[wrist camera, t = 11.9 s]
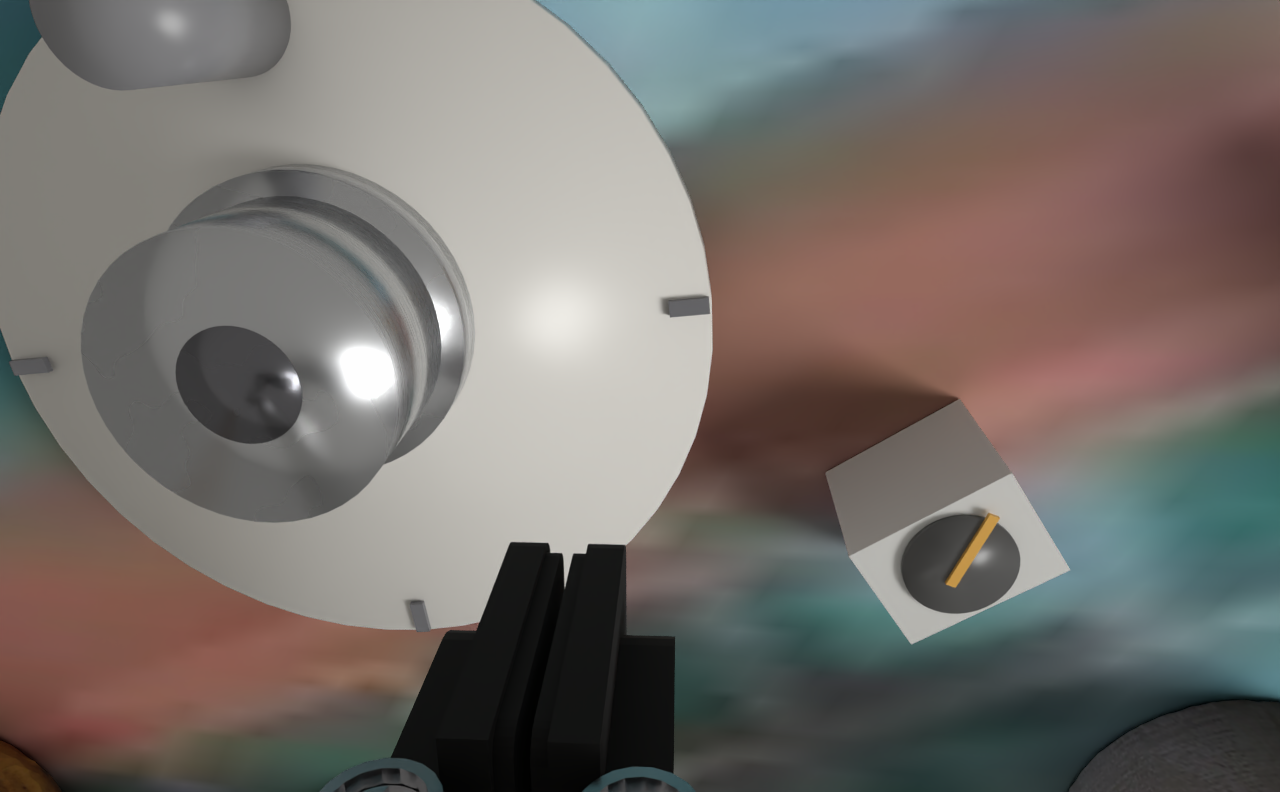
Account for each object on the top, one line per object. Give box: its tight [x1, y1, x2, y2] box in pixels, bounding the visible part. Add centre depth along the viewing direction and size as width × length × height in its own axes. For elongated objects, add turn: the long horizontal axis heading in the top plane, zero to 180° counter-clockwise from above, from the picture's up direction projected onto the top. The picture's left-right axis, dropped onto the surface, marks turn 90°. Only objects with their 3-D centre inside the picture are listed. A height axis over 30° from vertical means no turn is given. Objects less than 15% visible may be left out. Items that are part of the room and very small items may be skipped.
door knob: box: [81, 164, 475, 523], centre depth 18 cm, size 7×7×4 cm
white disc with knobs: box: [0, 0, 712, 632], centre depth 19 cm, size 17×17×6 cm
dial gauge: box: [825, 399, 1070, 644], centre depth 21 cm, size 4×3×4 cm
